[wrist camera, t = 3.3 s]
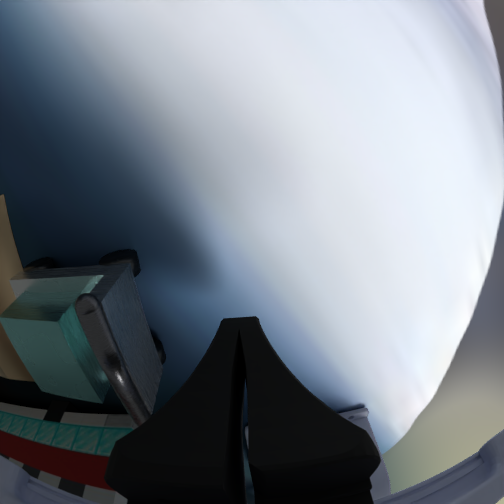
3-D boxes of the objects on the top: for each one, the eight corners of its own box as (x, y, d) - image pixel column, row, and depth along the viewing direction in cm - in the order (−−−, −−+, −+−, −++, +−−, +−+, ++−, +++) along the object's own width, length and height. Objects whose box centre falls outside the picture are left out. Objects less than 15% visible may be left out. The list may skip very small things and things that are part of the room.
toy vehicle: (-27, 387, 18) (-67, 459, 4) (136, 398, 16) (97, 589, 3) (9, 426, 21) (-21, 498, 8) (184, 449, 20) (175, 594, 6)
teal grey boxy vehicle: (140, 238, 12) (88, 302, 7) (171, 354, 15) (153, 432, 10) (33, 251, 12) (-28, 299, 7) (72, 349, 15) (39, 409, 10)
